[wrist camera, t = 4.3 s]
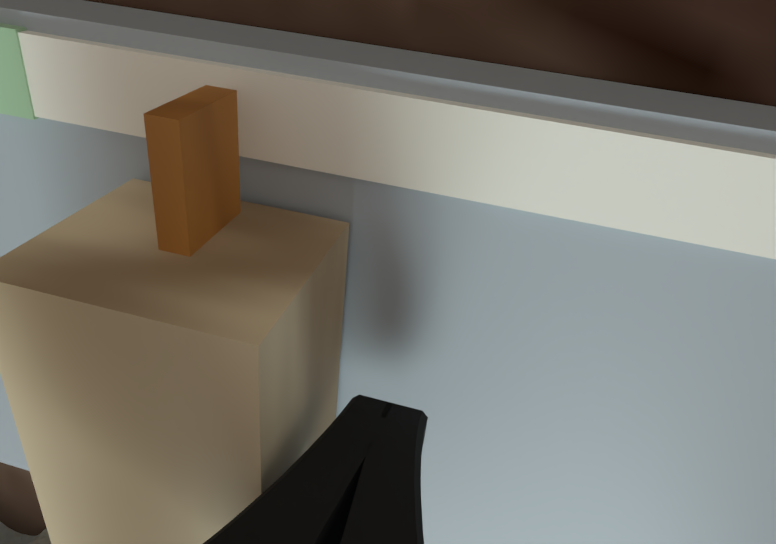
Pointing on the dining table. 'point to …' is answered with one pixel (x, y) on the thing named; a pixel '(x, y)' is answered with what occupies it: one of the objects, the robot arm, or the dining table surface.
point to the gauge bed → (468, 256)
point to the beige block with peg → (171, 341)
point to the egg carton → (22, 537)
